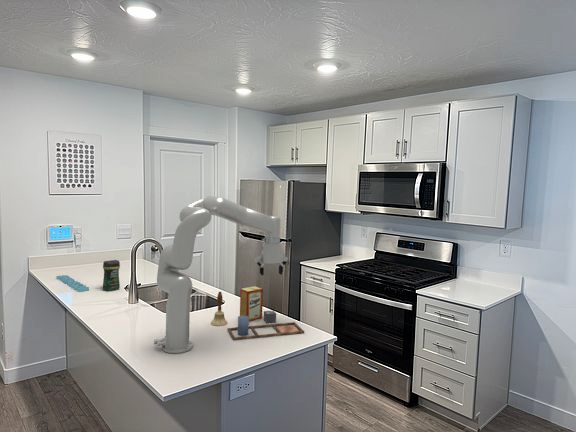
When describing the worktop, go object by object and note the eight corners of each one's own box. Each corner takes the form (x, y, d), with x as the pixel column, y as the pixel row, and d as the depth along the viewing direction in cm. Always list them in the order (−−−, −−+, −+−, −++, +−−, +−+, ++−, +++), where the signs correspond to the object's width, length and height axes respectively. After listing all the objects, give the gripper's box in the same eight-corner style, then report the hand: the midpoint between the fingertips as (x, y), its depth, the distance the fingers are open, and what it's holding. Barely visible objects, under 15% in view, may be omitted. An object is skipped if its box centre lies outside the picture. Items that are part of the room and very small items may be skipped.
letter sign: (56, 279, 276) (56, 275, 275) (66, 278, 280) (66, 274, 280) (78, 293, 244) (78, 289, 244) (90, 291, 249) (90, 287, 249)
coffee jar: (106, 292, 247) (106, 262, 245) (100, 289, 252) (100, 260, 251) (121, 289, 254) (122, 260, 253) (115, 287, 259) (115, 258, 258)
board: (233, 340, 178) (233, 338, 178) (227, 330, 190) (227, 328, 190) (304, 333, 190) (304, 331, 190) (294, 324, 202) (294, 322, 202)
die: (266, 323, 201) (266, 313, 201) (263, 320, 206) (263, 310, 205) (275, 323, 203) (276, 313, 202) (272, 319, 208) (273, 310, 207)
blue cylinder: (238, 336, 183) (239, 319, 183) (236, 332, 188) (236, 315, 187) (249, 335, 185) (250, 318, 184) (246, 331, 190) (247, 315, 189)
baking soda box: (246, 322, 203) (247, 290, 201) (239, 318, 208) (240, 287, 206) (262, 318, 209) (262, 288, 207) (254, 315, 214) (255, 285, 212)
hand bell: (231, 323, 200) (231, 292, 199) (217, 327, 194) (218, 294, 192) (220, 319, 205) (221, 288, 204) (207, 323, 199) (207, 291, 198)
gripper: (257, 242, 195) (256, 277, 196) (291, 241, 201) (289, 275, 202) (253, 239, 202) (252, 273, 203) (286, 239, 208) (284, 272, 209)
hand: (271, 274), depth 202 cm, fingers open, 9 cm apart
